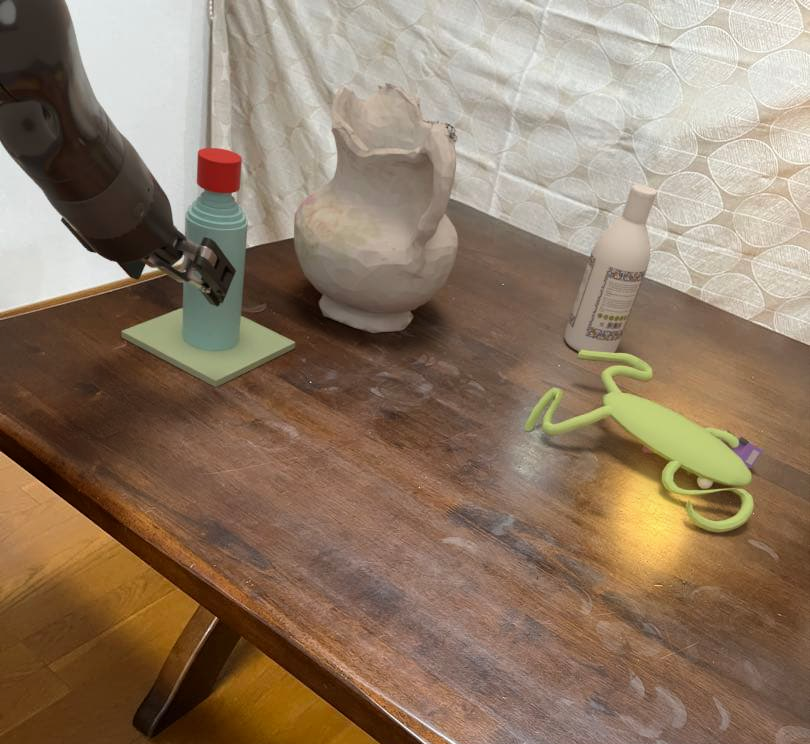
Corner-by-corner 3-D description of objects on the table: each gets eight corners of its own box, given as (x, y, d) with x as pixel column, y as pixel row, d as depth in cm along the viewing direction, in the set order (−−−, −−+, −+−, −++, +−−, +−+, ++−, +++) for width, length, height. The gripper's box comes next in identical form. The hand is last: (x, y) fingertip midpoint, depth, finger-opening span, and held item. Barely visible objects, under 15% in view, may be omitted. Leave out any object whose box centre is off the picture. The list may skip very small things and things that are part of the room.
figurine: (586, 373, 105) (601, 331, 102) (790, 481, 94) (815, 439, 90) (500, 418, 93) (514, 372, 89) (723, 548, 82) (748, 502, 78)
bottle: (169, 334, 92) (173, 153, 80) (208, 319, 96) (216, 145, 84) (213, 357, 90) (222, 175, 78) (250, 339, 94) (265, 165, 82)
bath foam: (625, 354, 111) (685, 198, 99) (591, 363, 107) (649, 202, 95) (586, 329, 115) (640, 176, 103) (552, 337, 111) (603, 179, 99)
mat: (121, 337, 91) (121, 330, 90) (206, 304, 100) (206, 298, 100) (215, 387, 87) (216, 380, 86) (295, 348, 96) (295, 342, 96)
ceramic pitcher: (479, 349, 107) (546, 139, 93) (362, 370, 94) (420, 129, 80) (368, 277, 118) (412, 78, 103) (249, 287, 105) (282, 61, 91)
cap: (187, 182, 82) (188, 151, 80) (216, 175, 85) (218, 145, 83) (220, 196, 81) (222, 165, 79) (248, 189, 84) (250, 159, 82)
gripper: (206, 174, 66) (261, 270, 82) (43, 123, 68) (128, 226, 84) (168, 262, 65) (231, 341, 81) (5, 207, 67) (97, 296, 83)
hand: (178, 283), depth 82 cm, fingers open, 8 cm apart
